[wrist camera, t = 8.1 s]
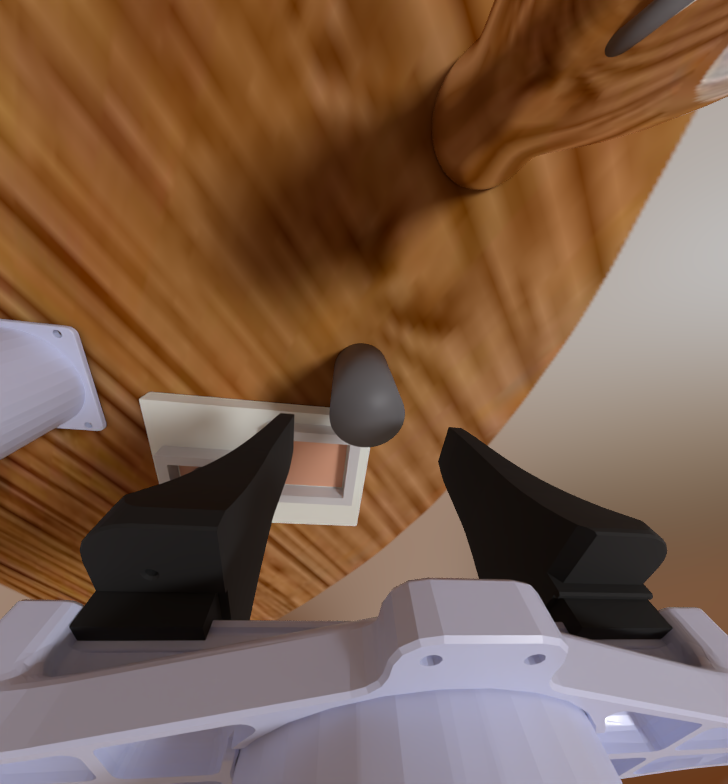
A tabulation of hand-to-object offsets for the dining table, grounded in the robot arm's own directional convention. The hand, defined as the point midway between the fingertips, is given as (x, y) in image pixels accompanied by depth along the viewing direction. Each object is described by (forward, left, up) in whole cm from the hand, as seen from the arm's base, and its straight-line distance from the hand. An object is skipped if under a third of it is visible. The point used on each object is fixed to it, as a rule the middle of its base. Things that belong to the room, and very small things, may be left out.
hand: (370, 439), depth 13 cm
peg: (0, 0, -9) cm, 9 cm away
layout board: (-7, -10, -9) cm, 15 cm away
